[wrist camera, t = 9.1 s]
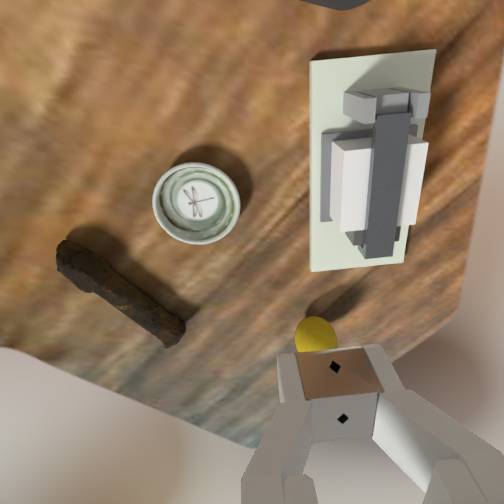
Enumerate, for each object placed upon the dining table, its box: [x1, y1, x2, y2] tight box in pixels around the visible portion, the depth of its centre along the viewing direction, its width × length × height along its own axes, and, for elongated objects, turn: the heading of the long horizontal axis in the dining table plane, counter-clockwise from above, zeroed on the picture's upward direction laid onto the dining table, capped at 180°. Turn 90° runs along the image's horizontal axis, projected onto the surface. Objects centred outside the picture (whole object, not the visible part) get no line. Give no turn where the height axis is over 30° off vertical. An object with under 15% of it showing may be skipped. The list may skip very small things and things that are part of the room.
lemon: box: [295, 316, 337, 352], centre depth 47 cm, size 6×6×8 cm
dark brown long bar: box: [56, 240, 186, 348], centre depth 44 cm, size 19×4×5 cm, turn 38°
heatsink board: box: [310, 49, 436, 272], centre depth 37 cm, size 24×12×7 cm, turn 5°
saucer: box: [152, 162, 241, 244], centre depth 39 cm, size 10×10×2 cm
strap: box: [358, 111, 412, 259], centre depth 35 cm, size 14×3×2 cm, turn 5°
